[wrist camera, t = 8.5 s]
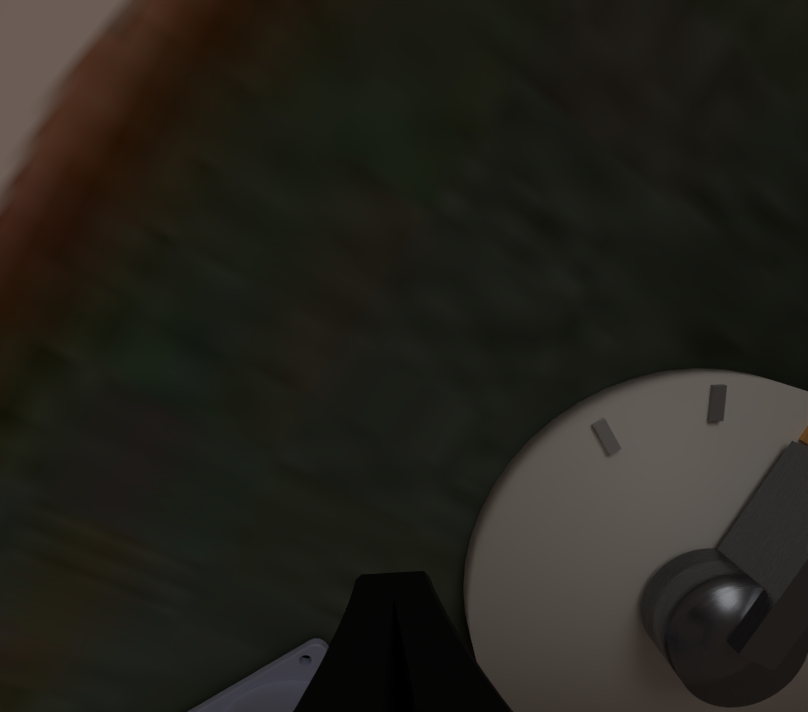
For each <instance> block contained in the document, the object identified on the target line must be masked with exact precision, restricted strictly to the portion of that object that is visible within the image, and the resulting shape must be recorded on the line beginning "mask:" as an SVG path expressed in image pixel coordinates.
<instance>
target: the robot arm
mask: <svg viewBox="0 0 808 712" xmlns="http://www.w3.org/2000/svg"><path fill="white" fill-rule="evenodd" d="M304 655H308V656H310V658H304V657H302V656H304ZM188 712H513V711H512V710H511V708H510V707H509V706H508V705H507V703H506V702H505V701H504V699H503V698H502V697H501V695H500V694H499V693H498V691H497V690H496V688H495V687H494V686H493V684H492V683H491V682H490V680H489V679H488V677H487V676H486V675H485V673H484V672H483V670H482V669H481V667H480V666H479V664H478V663H477V662H476V660H475V659H474V657H473V656H472V654H471V652H470V651H469V649H468V648H467V646H466V645H465V643H464V641H463V640H462V638H461V637H460V635H459V634H458V632H457V630H456V629H455V627H454V625H453V624H452V622H451V620H450V618H449V616H448V615H447V613H446V611H445V609H444V607H443V606H442V604H441V602H440V600H439V598H438V596H437V594H436V592H435V589H434V587H433V585H432V582H431V580H430V577H429V576H428V575H427V574H426V573H425V572H424V571H417V572H399V573H382V574H364V575H360V576H359V577H358V578H357V579H356V581H355V585H354V589H353V592H352V595H351V598H350V600H349V603H348V606H347V608H346V611H345V613H344V615H343V618H342V620H341V622H340V624H339V627H338V629H337V631H336V633H335V635H334V637H333V639H332V641H331V643H330V645H329V646H328V645H327V643H326V642H325V641H323V640H321V639H312V640H309V641H308V642H306V643H304V644H302V645H301V646H299V647H297V648H296V649H294V650H292V651H290V652H289V653H287V654H285V655H284V656H282V657H280V658H278V659H277V660H275V661H273V662H272V663H270V664H268V665H266V666H265V667H263V668H261V669H260V670H258V671H256V672H254V673H253V674H251V675H249V676H248V677H246V678H244V679H242V680H241V681H239V682H237V683H236V684H234V685H232V686H230V687H229V688H227V689H225V690H224V691H222V692H220V693H219V694H217V695H215V696H213V697H212V698H210V699H208V700H207V701H205V702H203V703H201V704H200V705H198V706H196V707H195V708H193V709H191V710H189V711H188Z"/></svg>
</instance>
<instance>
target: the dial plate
mask: <svg viewBox="0 0 808 712" xmlns="http://www.w3.org/2000/svg"><path fill="white" fill-rule="evenodd" d="M791 441H794V442H796V443H799V444H801V445H803V446H806V447H808V392H807V391H804V390H801V389H798V388H795V387H792V386H789V385H785V384H782V383H779V382H776V381H772V380H769V379H766V378H762V377H759V376H756V375H752V374H749V373H743V372H736V371H730V370H724V369H701V368H690V369H681V370H671V371H662V372H658V373H654V374H650V375H645V376H641V377H637V378H633V379H630V380H628V381H625V382H622V383H619V384H617V385H614V386H611V387H609V388H606V389H604V390H602V391H600V392H598V393H596V394H594V395H592V396H590V397H588V398H586V399H584V400H582V401H580V402H578V403H577V404H575V405H574V406H572V407H571V408H569V409H568V410H566V411H565V412H563V413H562V414H561V415H559V416H558V417H556V418H555V419H553V420H552V421H551V422H549V423H548V424H547V425H546V426H545V427H544V428H543V429H541V430H540V431H539V432H538V433H537V434H536V435H535V436H533V437H532V438H531V439H530V440H529V441H528V442H527V443H526V444H525V445H524V447H523V448H522V449H521V450H520V451H519V452H518V453H517V454H516V455H515V457H514V458H513V459H512V460H511V461H510V462H509V464H508V465H507V466H506V468H505V469H504V471H503V472H502V474H501V475H500V476H499V478H498V479H497V481H496V482H495V484H494V485H493V487H492V489H491V491H490V492H489V494H488V496H487V498H486V500H485V502H484V504H483V506H482V508H481V510H480V512H479V515H478V517H477V520H476V523H475V526H474V528H473V531H472V534H471V537H470V541H469V546H468V551H467V555H466V560H465V568H464V583H463V593H464V606H465V615H466V620H467V624H468V628H469V633H470V637H471V641H472V645H473V649H474V653H475V657H476V661H477V663H478V664H479V666H480V667H481V669H482V670H483V672H484V673H485V675H486V676H487V677H488V679H489V680H490V682H491V683H492V684H493V686H494V687H495V688H496V690H497V691H498V693H499V694H500V695H501V697H502V698H503V699H504V701H505V702H506V703H507V705H508V706H509V707H510V708H511V710H512V711H513V712H808V654H807V657H806V660H805V662H804V664H803V666H802V668H801V669H800V671H799V672H798V673H797V675H796V676H795V677H794V678H793V680H792V681H791V682H790V683H789V684H788V685H787V686H786V687H784V688H783V689H782V690H781V691H779V692H778V693H776V694H775V695H773V696H771V697H770V698H768V699H766V700H764V701H761V702H759V703H756V704H753V705H749V706H744V707H735V708H727V707H719V706H714V705H711V704H708V703H705V702H703V701H702V700H700V699H698V698H697V697H695V696H694V695H693V694H692V693H691V692H690V691H689V690H688V689H687V688H686V687H685V685H684V684H683V683H682V681H681V680H680V678H679V677H678V676H677V674H676V673H675V672H674V670H673V669H672V667H671V666H670V665H669V663H668V662H667V661H666V659H665V658H664V656H663V655H662V654H661V652H660V651H659V650H658V648H657V647H656V645H655V644H654V643H653V641H652V640H651V639H650V637H649V636H648V634H647V633H646V631H645V629H644V626H643V623H642V618H641V604H642V599H643V595H644V592H645V590H646V588H647V586H648V584H649V582H650V580H651V579H652V578H653V576H654V575H655V574H656V573H657V572H658V571H659V570H660V569H661V568H662V567H663V566H664V565H665V564H666V563H668V562H669V561H671V560H672V559H674V558H675V557H677V556H679V555H681V554H684V553H687V552H689V551H693V550H697V549H705V548H714V549H717V548H718V547H719V545H720V544H721V543H722V541H723V540H724V538H725V537H726V535H727V534H728V532H729V531H730V530H731V528H732V527H733V525H734V524H735V522H736V521H737V519H738V518H739V516H740V515H741V514H742V512H743V511H744V509H745V508H746V506H747V505H748V503H749V502H750V501H751V499H752V498H753V496H754V495H755V493H756V492H757V490H758V489H759V488H760V486H761V485H762V483H763V482H764V480H765V479H766V477H767V476H768V474H769V473H770V472H771V470H772V469H773V467H774V466H775V464H776V463H777V461H778V460H779V459H780V457H781V456H782V454H783V453H784V451H785V450H786V448H787V447H788V445H789V444H790V443H791Z"/></svg>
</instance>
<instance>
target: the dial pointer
mask: <svg viewBox="0 0 808 712" xmlns="http://www.w3.org/2000/svg"><path fill="white" fill-rule="evenodd" d="M641 618H642V623H643V626H644V629H645V631H646V633H647V634H648V636H649V637H650V639H651V640H652V641H653V643H654V644H655V645H656V647H657V648H658V650H659V651H660V652H661V654H662V655H663V656H664V658H665V659H666V661H667V662H668V663H669V665H670V666H671V667H672V669H673V670H674V672H675V673H676V674H677V676H678V677H679V678H680V680H681V681H682V683H683V684H684V685H685V687H686V688H687V689H688V690H689V691H690V692H691V693H692V694H693V695H694V696H695V697H697V698H698V699H700V700H702V701H703V702H705V703H708V704H711V705H714V706H719V707H727V708H735V707H744V706H749V705H753V704H756V703H759V702H761V701H764V700H766V699H768V698H770V697H771V696H773V695H775V694H776V693H778V692H779V691H781V690H782V689H783V688H784V687H786V686H787V685H788V684H789V683H790V682H791V681H792V680H793V678H794V677H795V676H796V675H797V673H798V672H799V671H800V669H801V668H802V666H803V664H804V662H805V660H806V657H807V654H808V447H806V446H803V445H801V444H799V443H796V442H794V441H791V443H790V444H789V445H788V447H787V448H786V450H785V451H784V453H783V454H782V456H781V457H780V459H779V460H778V461H777V463H776V464H775V466H774V467H773V469H772V470H771V472H770V473H769V474H768V476H767V477H766V479H765V480H764V482H763V483H762V485H761V486H760V488H759V489H758V490H757V492H756V493H755V495H754V496H753V498H752V499H751V501H750V502H749V503H748V505H747V506H746V508H745V509H744V511H743V512H742V514H741V515H740V516H739V518H738V519H737V521H736V522H735V524H734V525H733V527H732V528H731V530H730V531H729V532H728V534H727V535H726V537H725V538H724V540H723V541H722V543H721V544H720V545H719V547H718V548H717V549H714V548H705V549H697V550H693V551H689V552H687V553H684V554H681V555H679V556H677V557H675V558H674V559H672V560H671V561H669V562H668V563H666V564H665V565H664V566H663V567H662V568H661V569H660V570H659V571H658V572H657V573H656V574H655V575H654V576H653V578H652V579H651V580H650V582H649V584H648V586H647V588H646V590H645V592H644V595H643V599H642V604H641Z"/></svg>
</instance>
